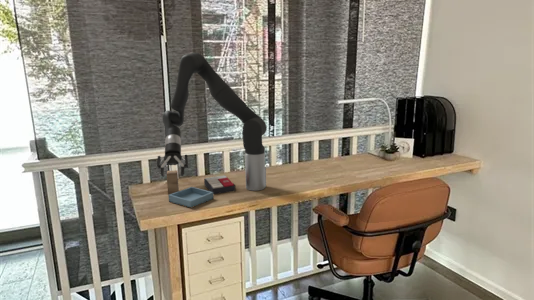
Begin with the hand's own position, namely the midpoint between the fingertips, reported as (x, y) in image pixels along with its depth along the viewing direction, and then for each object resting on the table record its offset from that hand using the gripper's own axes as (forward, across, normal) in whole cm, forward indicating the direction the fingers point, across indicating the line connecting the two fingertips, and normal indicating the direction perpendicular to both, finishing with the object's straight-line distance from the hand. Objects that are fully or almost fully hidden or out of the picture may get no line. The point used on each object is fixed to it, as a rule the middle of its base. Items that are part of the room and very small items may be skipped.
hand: (172, 175), depth 183 cm
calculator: (+5, +21, +7) cm, 23 cm away
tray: (+15, +9, -4) cm, 17 cm away
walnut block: (+7, 0, +4) cm, 8 cm away
